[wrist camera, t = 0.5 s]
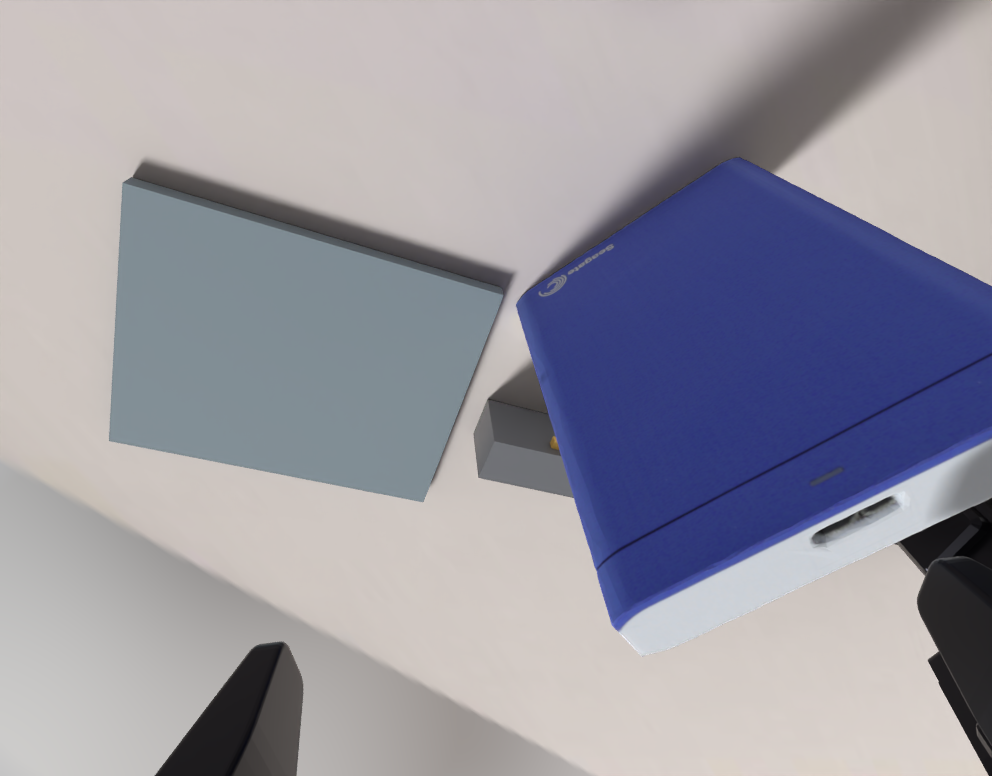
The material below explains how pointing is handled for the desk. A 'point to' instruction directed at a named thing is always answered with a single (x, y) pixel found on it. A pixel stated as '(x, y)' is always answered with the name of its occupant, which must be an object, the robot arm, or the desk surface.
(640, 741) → the desk surface
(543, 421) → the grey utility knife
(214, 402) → the mat
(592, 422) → the hard drive
